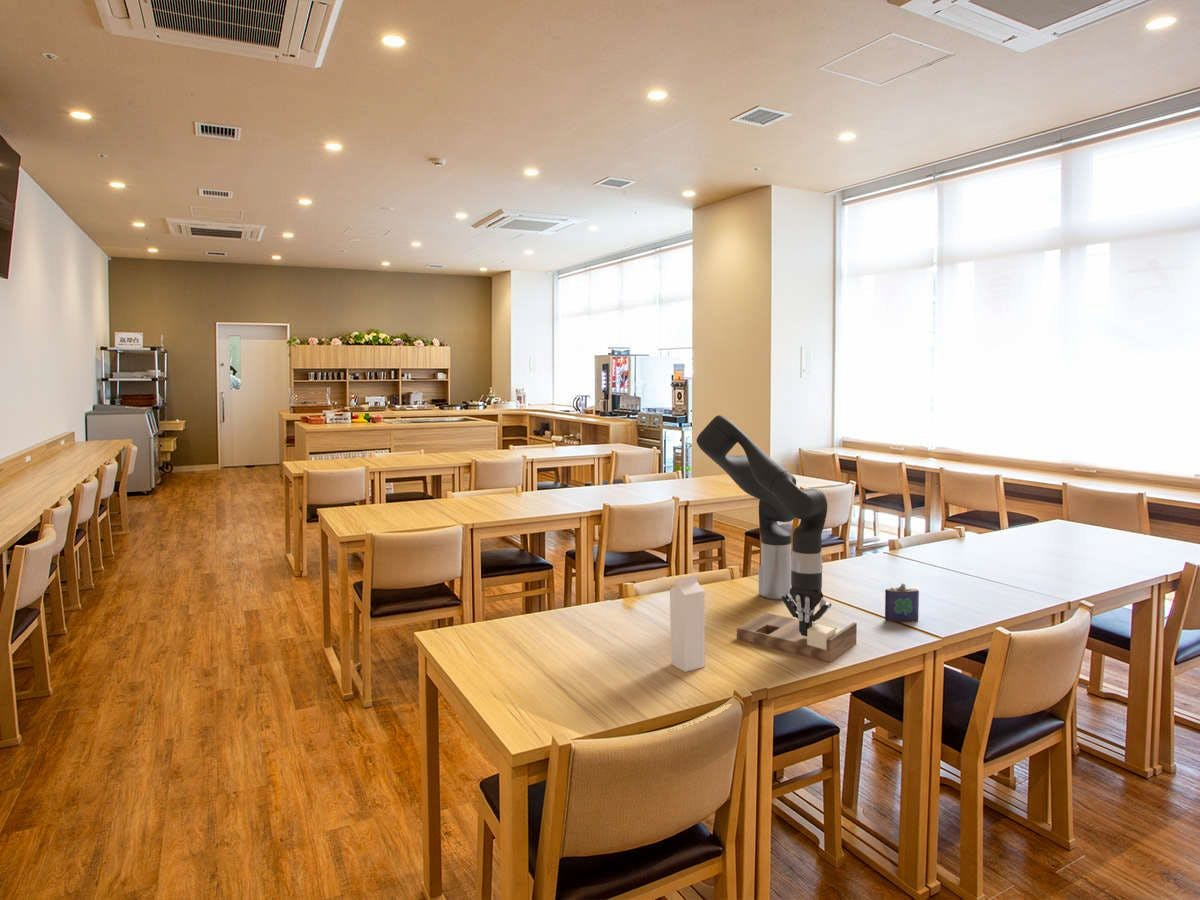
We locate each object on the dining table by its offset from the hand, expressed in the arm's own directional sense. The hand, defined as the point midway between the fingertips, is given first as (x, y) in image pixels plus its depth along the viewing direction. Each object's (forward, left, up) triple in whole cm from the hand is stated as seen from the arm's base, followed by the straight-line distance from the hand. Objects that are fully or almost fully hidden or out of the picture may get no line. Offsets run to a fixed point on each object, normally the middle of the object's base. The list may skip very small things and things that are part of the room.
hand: (805, 635), depth 186 cm
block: (+5, -1, -1) cm, 5 cm away
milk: (-18, -27, -4) cm, 32 cm away
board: (-5, +4, -4) cm, 7 cm away
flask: (+11, +37, -4) cm, 39 cm away
